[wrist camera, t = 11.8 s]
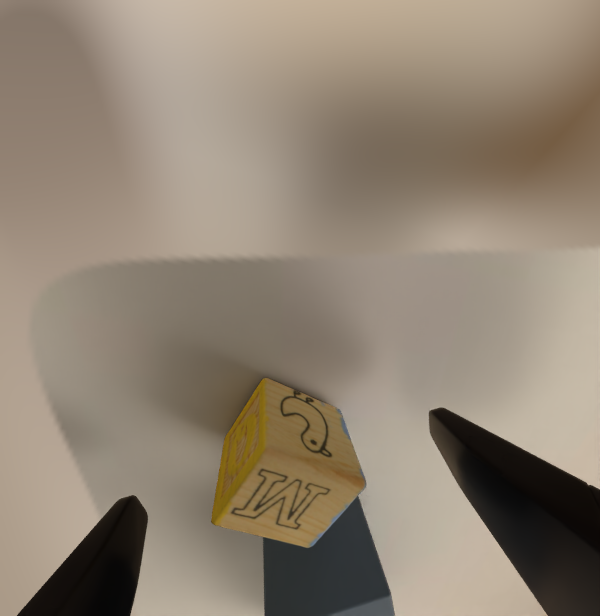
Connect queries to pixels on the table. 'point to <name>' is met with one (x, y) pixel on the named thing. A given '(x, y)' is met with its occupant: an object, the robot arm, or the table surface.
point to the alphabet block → (286, 468)
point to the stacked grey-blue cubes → (327, 573)
